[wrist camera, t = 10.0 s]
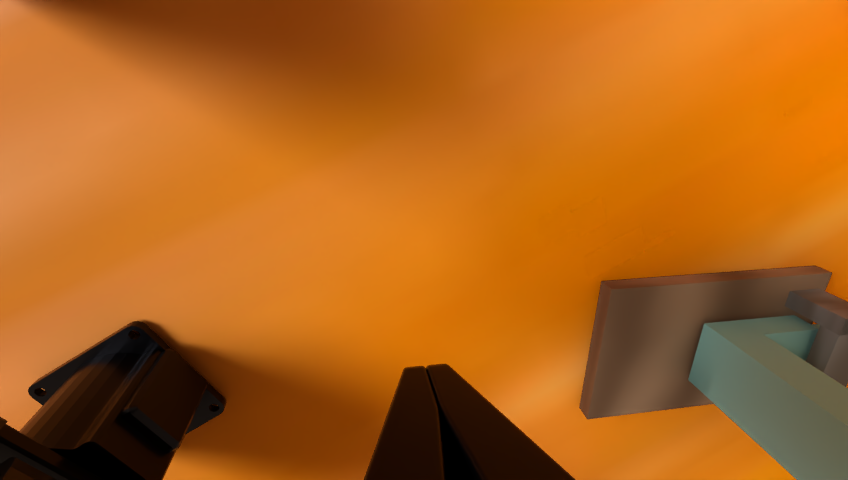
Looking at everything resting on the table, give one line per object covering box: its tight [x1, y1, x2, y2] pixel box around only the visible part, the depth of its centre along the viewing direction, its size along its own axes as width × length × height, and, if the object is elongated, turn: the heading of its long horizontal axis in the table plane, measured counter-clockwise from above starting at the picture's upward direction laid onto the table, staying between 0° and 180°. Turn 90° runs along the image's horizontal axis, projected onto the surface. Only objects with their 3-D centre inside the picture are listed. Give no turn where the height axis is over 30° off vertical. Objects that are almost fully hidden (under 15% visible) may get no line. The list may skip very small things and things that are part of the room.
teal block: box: [688, 315, 848, 480], centre depth 22 cm, size 9×4×9 cm, turn 90°
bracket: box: [579, 266, 848, 419], centre depth 25 cm, size 14×9×4 cm, turn 90°
